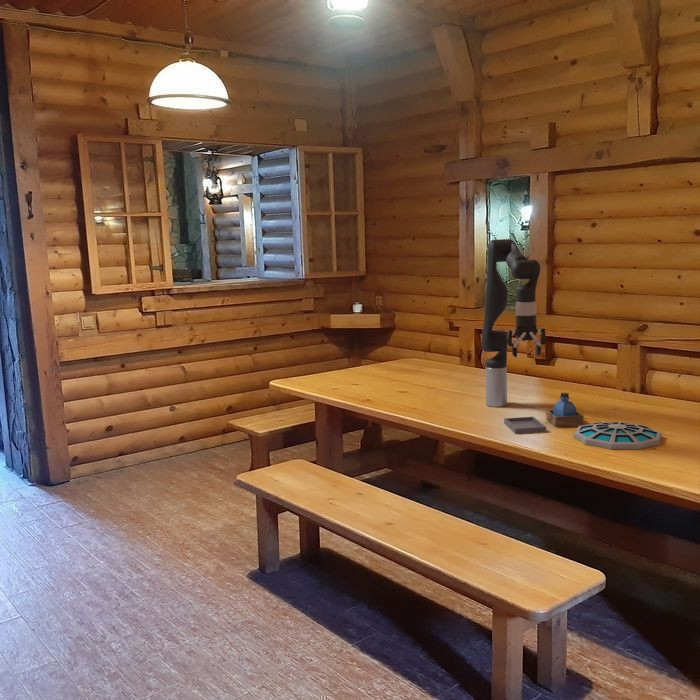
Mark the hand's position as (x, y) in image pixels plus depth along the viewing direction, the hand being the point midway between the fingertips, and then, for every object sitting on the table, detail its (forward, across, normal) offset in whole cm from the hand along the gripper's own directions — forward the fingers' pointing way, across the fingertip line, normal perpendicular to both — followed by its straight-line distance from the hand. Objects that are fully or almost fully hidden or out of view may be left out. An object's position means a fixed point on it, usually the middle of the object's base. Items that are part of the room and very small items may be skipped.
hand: (526, 356), depth 274 cm
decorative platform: (+30, -29, +15) cm, 44 cm away
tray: (+29, -1, -6) cm, 30 cm away
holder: (+29, -18, -9) cm, 35 cm away
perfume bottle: (+30, -18, -9) cm, 36 cm away
